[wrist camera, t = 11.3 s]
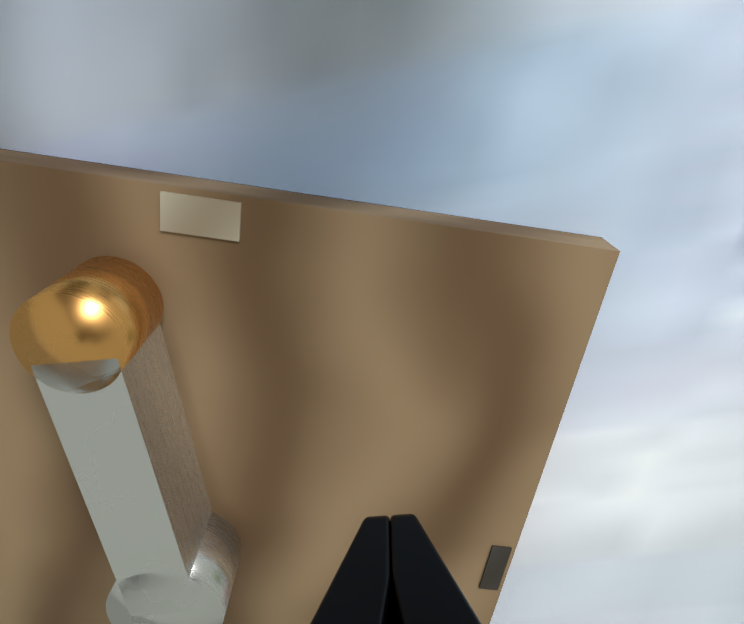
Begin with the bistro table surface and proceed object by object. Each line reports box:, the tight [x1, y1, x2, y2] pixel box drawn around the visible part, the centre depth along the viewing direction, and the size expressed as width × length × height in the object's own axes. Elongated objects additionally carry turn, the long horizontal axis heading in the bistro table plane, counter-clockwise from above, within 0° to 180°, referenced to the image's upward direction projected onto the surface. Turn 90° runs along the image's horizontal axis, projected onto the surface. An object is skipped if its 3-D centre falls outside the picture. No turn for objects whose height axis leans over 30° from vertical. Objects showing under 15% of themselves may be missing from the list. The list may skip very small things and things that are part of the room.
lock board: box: [0, 149, 620, 624], centre depth 22 cm, size 22×22×2 cm
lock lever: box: [9, 256, 242, 624], centre depth 18 cm, size 14×4×3 cm, turn 5°
